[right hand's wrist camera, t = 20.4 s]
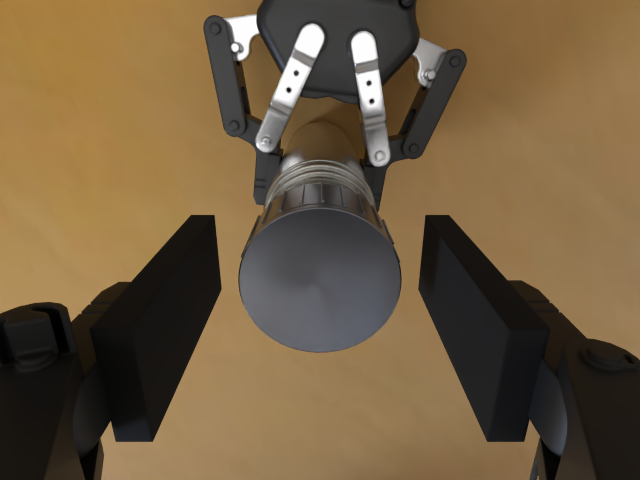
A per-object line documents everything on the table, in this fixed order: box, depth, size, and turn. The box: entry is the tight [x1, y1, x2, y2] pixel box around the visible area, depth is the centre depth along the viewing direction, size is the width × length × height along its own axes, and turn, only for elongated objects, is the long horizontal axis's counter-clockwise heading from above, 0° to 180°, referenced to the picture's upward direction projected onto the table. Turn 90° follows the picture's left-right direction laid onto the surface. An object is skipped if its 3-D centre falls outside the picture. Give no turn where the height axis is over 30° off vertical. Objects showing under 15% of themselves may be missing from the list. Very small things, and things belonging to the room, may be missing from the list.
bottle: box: [264, 122, 376, 210], centre depth 22 cm, size 5×5×19 cm
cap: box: [238, 183, 401, 352], centre depth 13 cm, size 5×5×3 cm
